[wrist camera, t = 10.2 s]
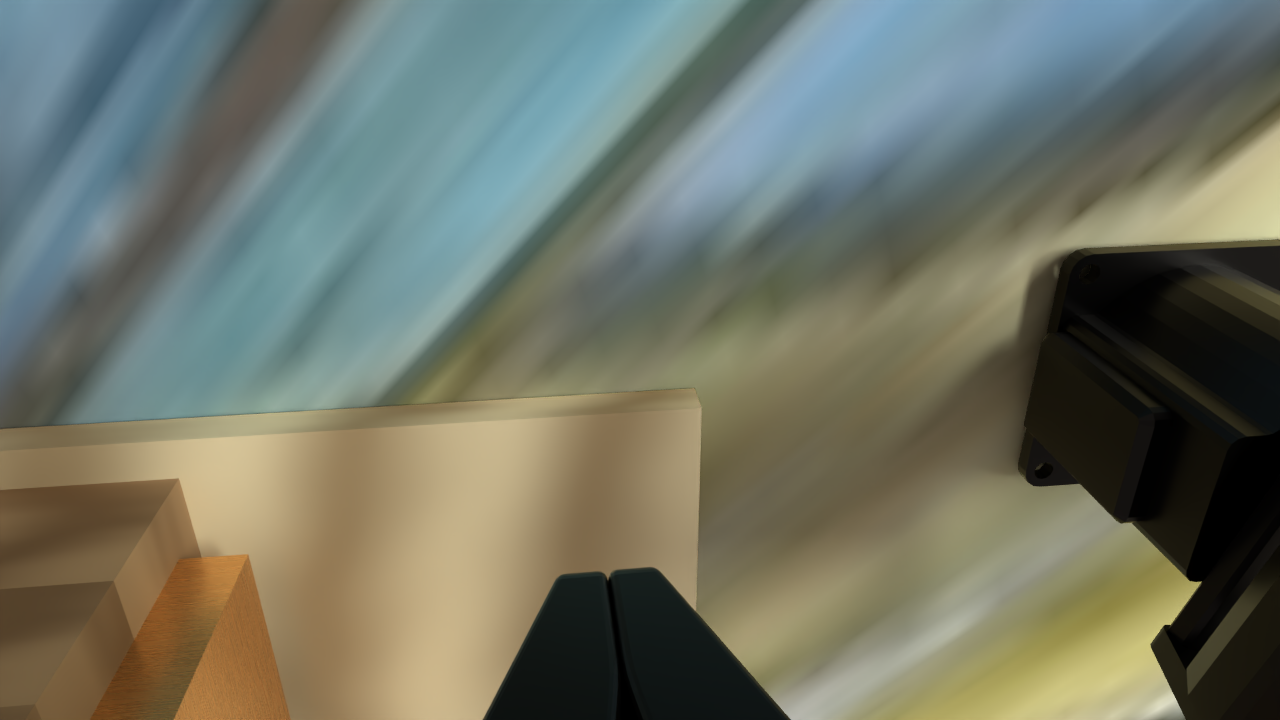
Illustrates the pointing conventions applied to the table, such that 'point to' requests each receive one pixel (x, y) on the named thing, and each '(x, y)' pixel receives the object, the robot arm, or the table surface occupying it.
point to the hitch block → (339, 539)
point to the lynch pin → (200, 651)
